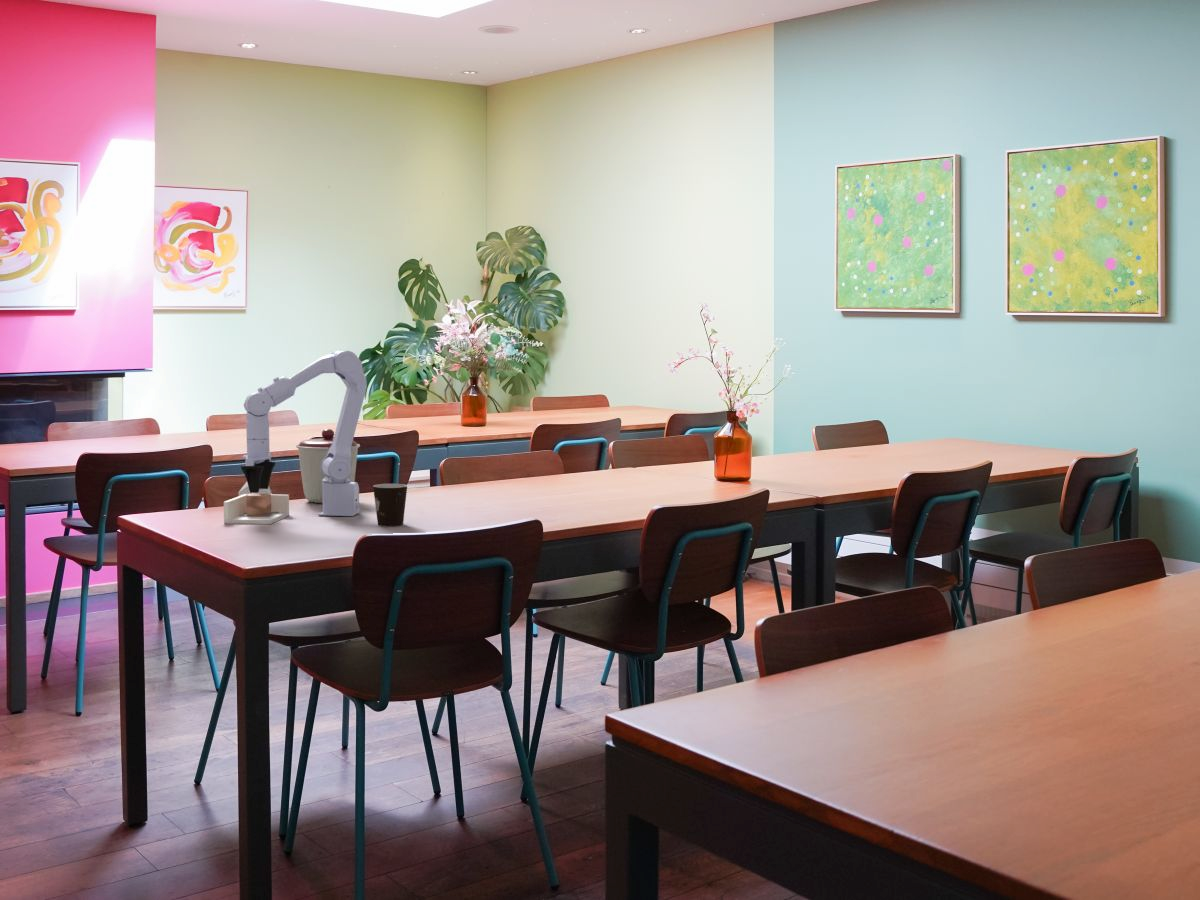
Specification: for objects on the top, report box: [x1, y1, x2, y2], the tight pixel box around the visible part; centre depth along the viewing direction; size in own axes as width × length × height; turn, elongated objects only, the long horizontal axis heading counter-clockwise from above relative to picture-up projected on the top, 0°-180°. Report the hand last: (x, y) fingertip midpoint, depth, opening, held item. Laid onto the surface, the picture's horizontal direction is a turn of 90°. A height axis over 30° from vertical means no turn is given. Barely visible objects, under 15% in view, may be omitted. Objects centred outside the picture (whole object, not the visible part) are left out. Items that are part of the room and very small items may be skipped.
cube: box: [246, 493, 271, 515], centre depth 329 cm, size 5×5×5 cm
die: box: [237, 481, 273, 496], centre depth 345 cm, size 8×9×10 cm
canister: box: [295, 428, 361, 504], centre depth 362 cm, size 18×18×21 cm
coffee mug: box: [372, 483, 408, 527], centre depth 319 cm, size 12×9×10 cm
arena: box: [223, 493, 290, 525], centre depth 328 cm, size 12×16×6 cm
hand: (259, 490), depth 329 cm, fingers open, 7 cm apart
